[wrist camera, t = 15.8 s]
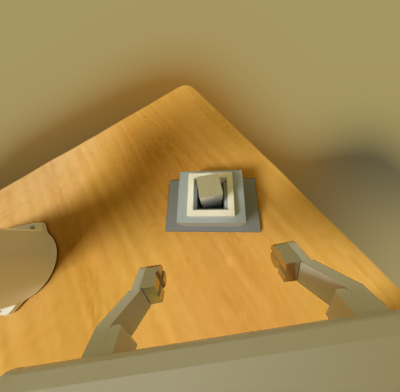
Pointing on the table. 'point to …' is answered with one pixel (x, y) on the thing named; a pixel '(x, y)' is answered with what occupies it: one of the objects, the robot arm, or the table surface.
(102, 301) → the table surface
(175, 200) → the block
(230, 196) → the frame
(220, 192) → the shaft
